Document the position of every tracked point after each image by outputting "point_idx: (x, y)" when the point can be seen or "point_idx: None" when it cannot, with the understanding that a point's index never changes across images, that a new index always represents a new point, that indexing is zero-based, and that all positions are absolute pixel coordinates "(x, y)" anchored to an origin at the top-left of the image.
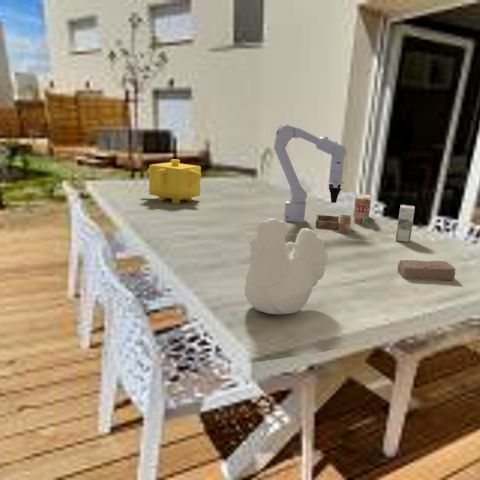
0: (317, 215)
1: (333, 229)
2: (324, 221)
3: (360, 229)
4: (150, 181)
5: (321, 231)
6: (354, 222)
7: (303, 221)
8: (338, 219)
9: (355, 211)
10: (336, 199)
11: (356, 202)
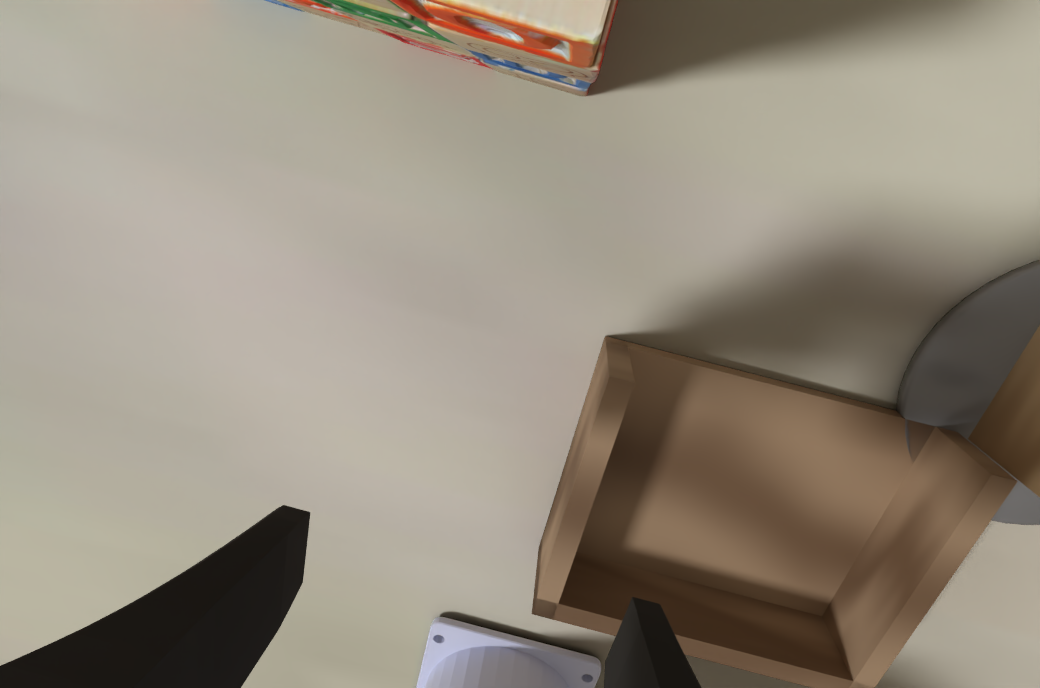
0: (576, 617)
1: None
2: (911, 631)
3: (929, 98)
4: None
5: (954, 602)
6: (585, 94)
7: (580, 671)
8: (631, 367)
9: (462, 47)
10: (691, 674)
11: (416, 14)
